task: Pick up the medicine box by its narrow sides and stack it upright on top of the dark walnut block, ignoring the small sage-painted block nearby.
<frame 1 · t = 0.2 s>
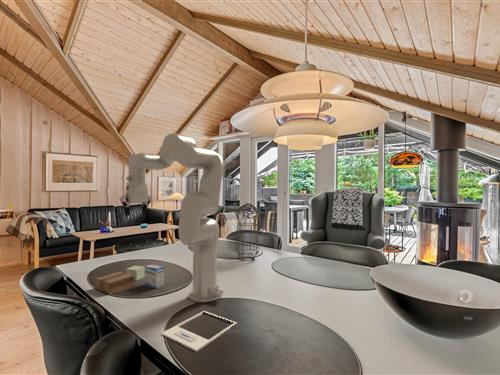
hand: (136, 214, 133), 31 cm above the table, fingers open, 9 cm apart
geometric lantern: (247, 258, 169), on the table
sage block: (135, 278, 131), on the table
medicine box: (154, 286, 121), on the table
photo frame: (200, 331, 84), on the table
walnut block: (114, 288, 118), on the table
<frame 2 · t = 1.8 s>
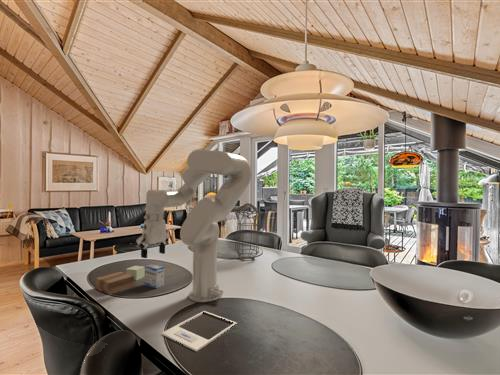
hand: (153, 255, 121), 13 cm above the table, fingers open, 9 cm apart
nothing on the table moved.
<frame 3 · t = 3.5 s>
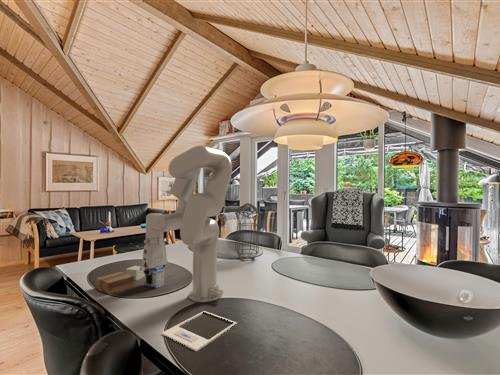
hand: (154, 281, 121), 2 cm above the table, fingers closed on medicine box, 4 cm apart
medicine box: (154, 285, 121), on the table, touching gripper
everything else where it was.
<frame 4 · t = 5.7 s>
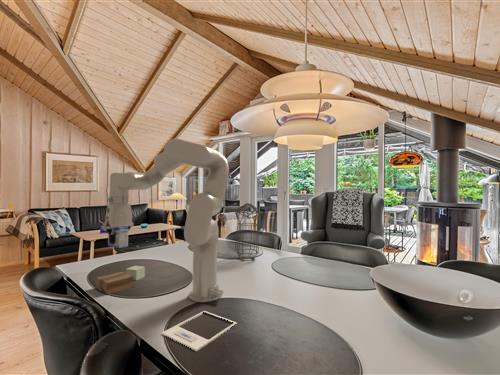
hand: (118, 242, 118), 20 cm above the table, fingers closed on medicine box, 4 cm apart
medicine box: (117, 246, 118), point 18 cm above the table, touching gripper
everything else where it was.
when the fingers open (7 cm above the table, at t = 8.4 s): medicine box stays where it is, resting on walnut block.
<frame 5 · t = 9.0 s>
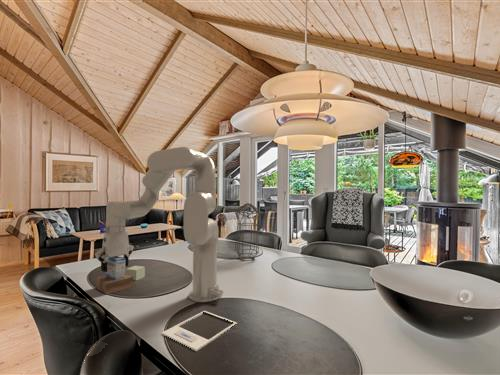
hand: (115, 268, 118), 8 cm above the table, fingers open, 9 cm apart
medicine box: (115, 277, 118), point 4 cm above the table, touching walnut block
walnut block: (114, 288, 118), on the table, touching medicine box
everything else where it was.
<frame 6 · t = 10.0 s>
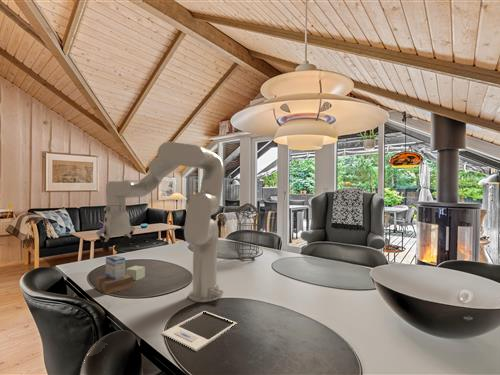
hand: (116, 248, 118), 17 cm above the table, fingers open, 9 cm apart
nothing on the table moved.
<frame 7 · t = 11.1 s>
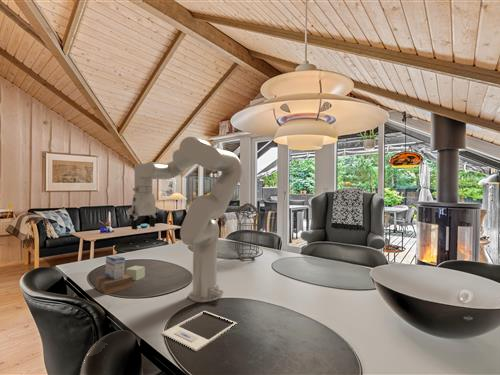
hand: (143, 227, 124), 25 cm above the table, fingers open, 9 cm apart
nothing on the table moved.
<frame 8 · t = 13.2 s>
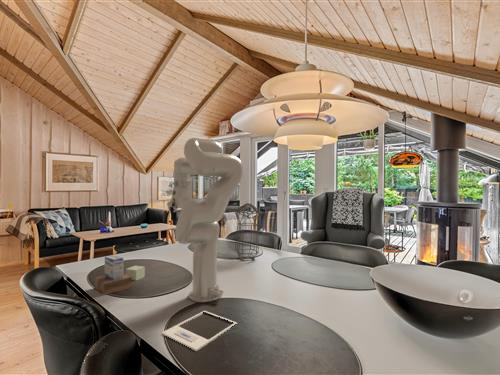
hand: (181, 219, 133), 28 cm above the table, fingers open, 9 cm apart
nothing on the table moved.
at the end: medicine box inside the target area on the walnut block (0.2 cm from its centre), point 4.9 cm above the walnut block's base; medicine box tilted 2°; the gripper is holding nothing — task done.
